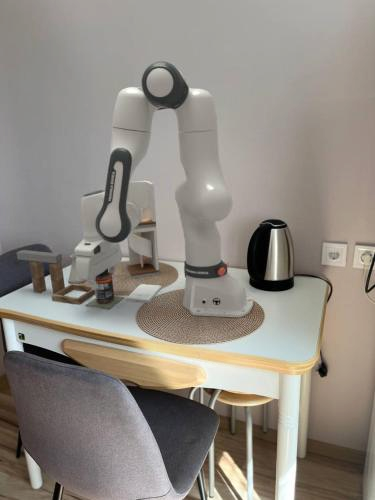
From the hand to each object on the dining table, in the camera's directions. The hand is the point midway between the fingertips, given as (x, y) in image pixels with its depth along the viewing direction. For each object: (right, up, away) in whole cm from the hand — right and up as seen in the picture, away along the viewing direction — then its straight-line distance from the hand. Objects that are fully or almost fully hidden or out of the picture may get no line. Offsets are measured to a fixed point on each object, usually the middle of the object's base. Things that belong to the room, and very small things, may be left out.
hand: (103, 283), depth 129 cm
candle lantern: (+10, +2, +28) cm, 30 cm away
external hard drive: (+13, -5, +7) cm, 15 cm away
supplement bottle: (0, -6, +2) cm, 6 cm away
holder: (-16, -5, +10) cm, 19 cm away
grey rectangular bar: (-24, +7, +9) cm, 27 cm away
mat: (0, -6, +2) cm, 7 cm away
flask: (-14, -1, +22) cm, 27 cm away
